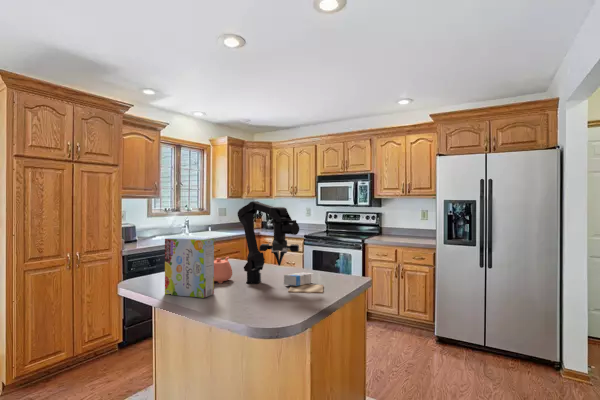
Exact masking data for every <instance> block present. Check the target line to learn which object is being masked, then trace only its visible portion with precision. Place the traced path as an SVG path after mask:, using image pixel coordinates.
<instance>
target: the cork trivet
mask: <svg viewBox="0 0 600 400" xmlns="http://www.w3.org/2000/svg"><path fill="white" fill-rule="evenodd" d="M289 286H290V287H289V289H288V291H287V292H288V293H297V294H298V293H301V294H304V293H305V294H311V293H312V294H324V284H311V283H309V284H304V285H299V286H292V285H289Z"/></svg>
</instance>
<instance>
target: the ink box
mask: <svg viewBox="0 0 600 400" xmlns="http://www.w3.org/2000/svg"><path fill="white" fill-rule="evenodd" d="M314 274H315V273H313V272H303V271H302V272H296V273H289V274H284V275H283V285H287V286H291V285H292V286H299V285H304V284H312V275H314Z"/></svg>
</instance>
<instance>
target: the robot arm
mask: <svg viewBox="0 0 600 400" xmlns="http://www.w3.org/2000/svg"><path fill="white" fill-rule="evenodd" d="M258 212H261V213H263V214H267V215H268V216H269V217H270V218H271V219H272V220H271V221H270V224H271V225H273V239H272V243H271V244H272V245H270V244H269V243H261V244H260V245H259V246H258V243H257V238H256V237H257V236H256V233H255V229H254V221H255V215H256V214H257V213H258ZM237 218H238V221H239V222H240V224H241V225H242V227H243V231H244V234H245V240H246V244H247V249H248V255H247V256H246V257H247V258H246V260H247V262H246V263H245V265H244V266H243V270H244V272H246V282H245V283H246V284H250V285H251V284H253V285H254V284H256V285H258V284H260V282H262V273H261V270H263V268H264V265H265V256H264V253H263V252H267V251H268V250H271V254H273V255H274V257H275V259H276V262H277V265H278V266H281V265H282V263H283V259H284V256H285V254H287V253H288V250H289V251H291V252H293V253H297V252H299V250H300V245H299V244H297V243H296V244H290V245H288V240H286V236H287V235H290V236H297V235H298V234H299V232H300V226H299V224H298V223H297V220H296V219H294V220H293V219H292V217H291V216H290V213H289V212H288V208H286V207H282V206H272V205H270V204H265V203H262V202H260V201H255V200H253V201H249V203H247V204H246V205H244V206H242V207H240V209H238V211H237Z"/></svg>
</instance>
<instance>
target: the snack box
mask: <svg viewBox="0 0 600 400" xmlns="http://www.w3.org/2000/svg"><path fill="white" fill-rule="evenodd" d="M214 260H215V239H214V237H196V236H195V237H189V236H187V237H186V236H185V237H181V236H180V237H179V236H178V237H177V236H176V237H175V236H174V237H166V238H164V295H166V294H171V295H170V296H181V297H190V298H191V297H192V298H200V299H201V298H202V299H204V298H206V297H207V298H208V297H210V296H212V295H214V293H215V281H214Z"/></svg>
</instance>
